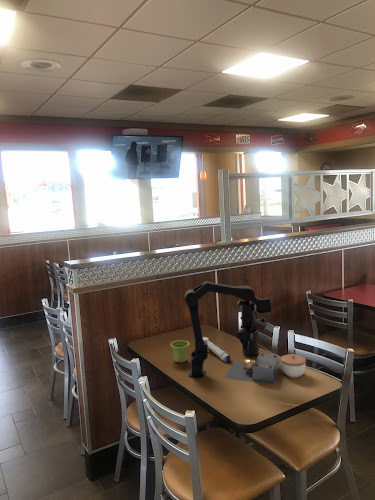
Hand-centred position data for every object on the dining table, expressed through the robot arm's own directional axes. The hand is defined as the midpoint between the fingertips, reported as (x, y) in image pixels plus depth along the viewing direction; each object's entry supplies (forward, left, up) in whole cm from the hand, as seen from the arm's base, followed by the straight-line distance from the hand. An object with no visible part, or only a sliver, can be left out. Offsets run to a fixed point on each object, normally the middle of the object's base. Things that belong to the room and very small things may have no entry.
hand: (248, 347), depth 179 cm
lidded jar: (+3, -20, -12) cm, 23 cm away
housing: (0, -8, -12) cm, 14 cm away
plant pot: (+4, +36, -12) cm, 38 cm away
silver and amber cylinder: (0, -3, -11) cm, 11 cm away
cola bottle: (+21, +4, -12) cm, 24 cm away
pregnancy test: (+16, +22, -13) cm, 30 cm away
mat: (0, -2, -12) cm, 12 cm away
